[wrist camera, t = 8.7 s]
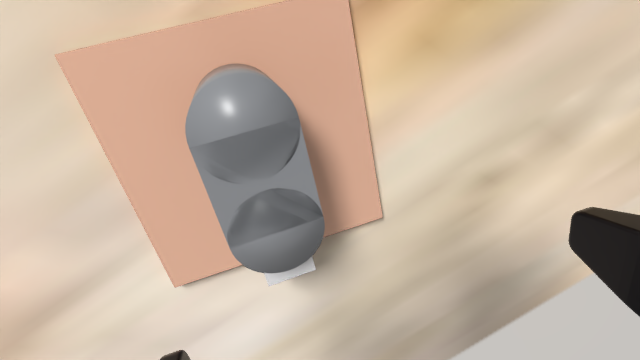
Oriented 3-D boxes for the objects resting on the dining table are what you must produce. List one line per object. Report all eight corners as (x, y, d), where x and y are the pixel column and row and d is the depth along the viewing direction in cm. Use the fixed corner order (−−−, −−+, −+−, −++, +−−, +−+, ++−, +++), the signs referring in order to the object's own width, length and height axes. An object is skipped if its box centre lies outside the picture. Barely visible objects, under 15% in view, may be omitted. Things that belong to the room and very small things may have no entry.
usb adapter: (178, 76, 15) (166, 91, 11) (269, 53, 16) (284, 60, 12) (248, 260, 19) (255, 312, 16) (317, 236, 20) (339, 282, 16)
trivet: (341, -12, 16) (346, -14, 15) (378, 212, 21) (382, 217, 21) (60, 53, 14) (54, 54, 14) (175, 280, 19) (174, 287, 19)
